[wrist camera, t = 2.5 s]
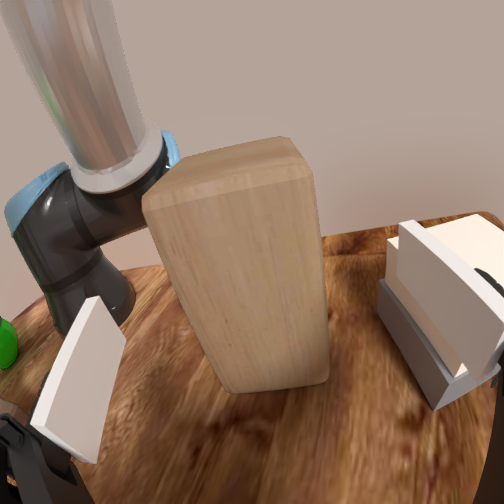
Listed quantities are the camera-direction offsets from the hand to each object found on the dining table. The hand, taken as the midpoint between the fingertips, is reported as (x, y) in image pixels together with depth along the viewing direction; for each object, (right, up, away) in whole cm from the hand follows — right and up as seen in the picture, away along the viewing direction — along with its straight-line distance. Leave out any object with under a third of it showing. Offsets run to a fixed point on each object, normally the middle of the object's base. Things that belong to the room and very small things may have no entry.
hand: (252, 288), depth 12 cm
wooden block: (+3, -9, +17) cm, 20 cm away
